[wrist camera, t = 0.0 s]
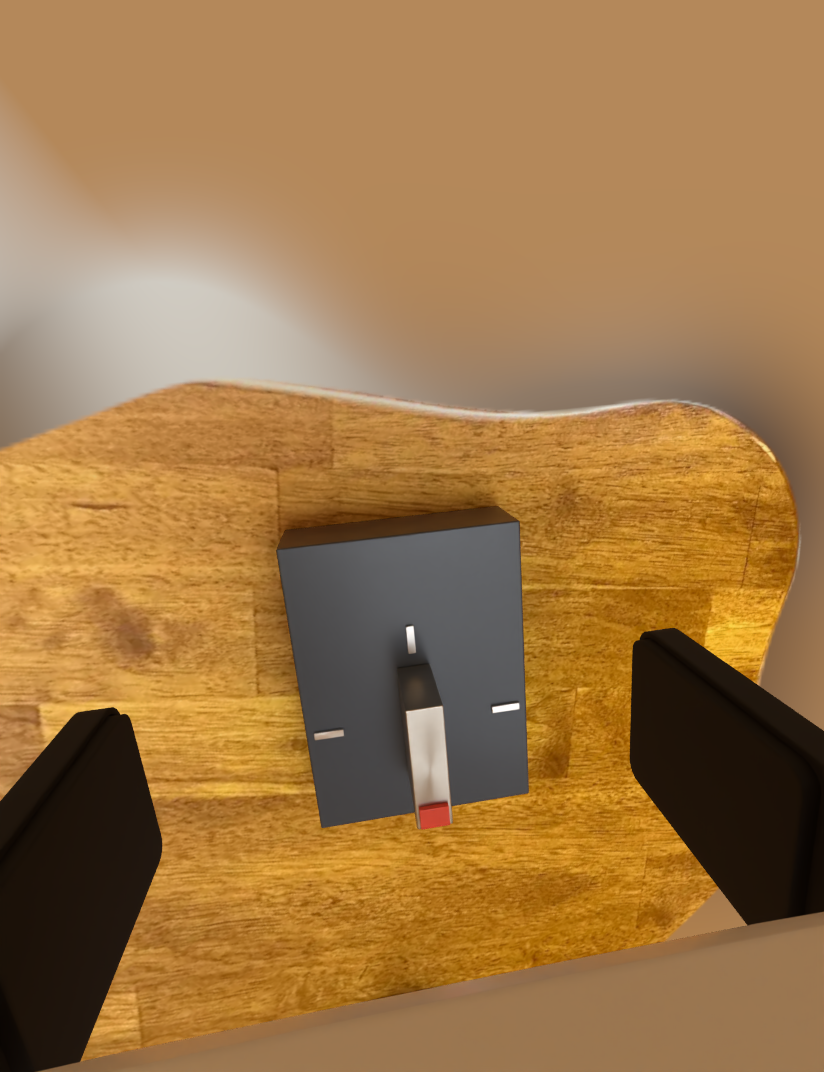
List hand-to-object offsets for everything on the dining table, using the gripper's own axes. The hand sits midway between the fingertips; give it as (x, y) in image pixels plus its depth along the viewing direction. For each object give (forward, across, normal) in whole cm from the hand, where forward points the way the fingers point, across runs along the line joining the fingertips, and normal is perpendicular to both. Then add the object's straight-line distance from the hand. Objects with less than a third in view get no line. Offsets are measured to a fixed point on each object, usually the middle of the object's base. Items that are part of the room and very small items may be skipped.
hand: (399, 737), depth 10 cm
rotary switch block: (+18, -2, +8) cm, 19 cm away
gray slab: (+14, -2, +10) cm, 17 cm away
